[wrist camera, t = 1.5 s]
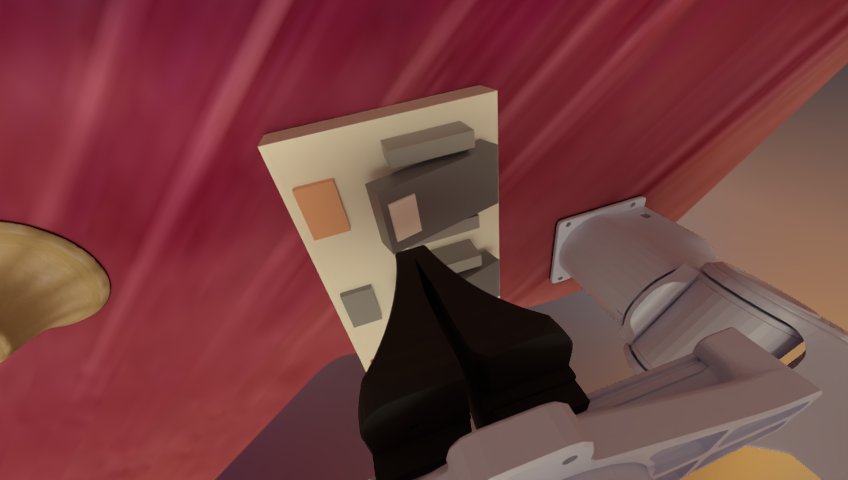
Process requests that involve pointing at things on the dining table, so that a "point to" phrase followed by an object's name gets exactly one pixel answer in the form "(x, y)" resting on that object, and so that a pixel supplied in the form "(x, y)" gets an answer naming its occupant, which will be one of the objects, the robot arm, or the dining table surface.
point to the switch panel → (350, 206)
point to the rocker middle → (485, 274)
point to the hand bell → (44, 284)
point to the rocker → (434, 195)
